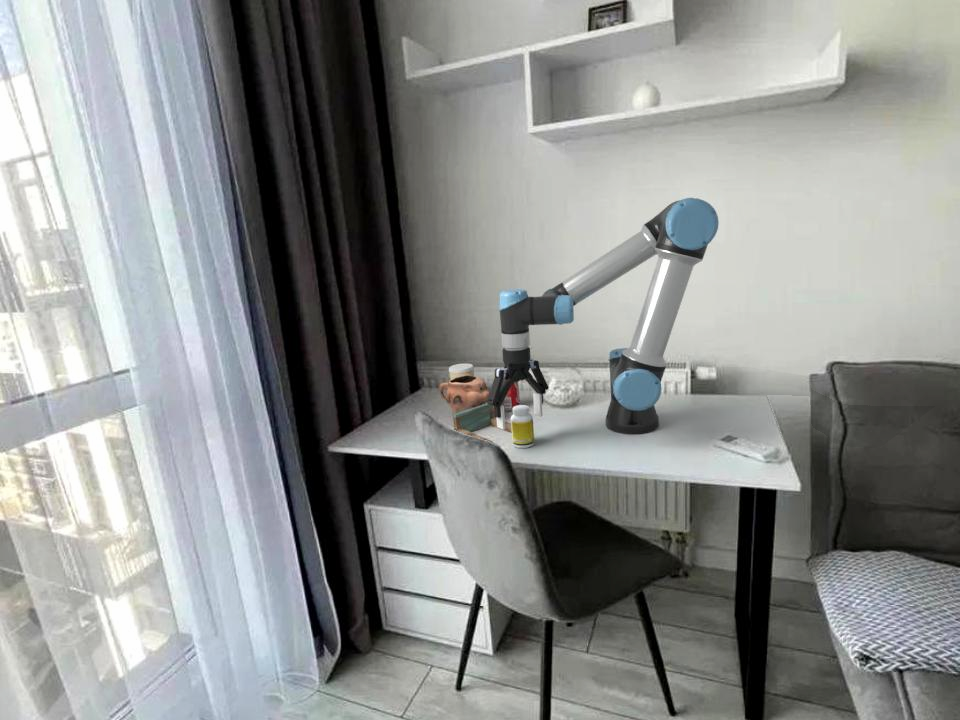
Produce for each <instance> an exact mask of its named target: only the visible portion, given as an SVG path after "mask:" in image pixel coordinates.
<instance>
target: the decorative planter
mask: <svg viewBox="0 0 960 720" xmlns="http://www.w3.org/2000/svg"><path fill="white" fill-rule="evenodd" d="M444 389H447V390H446V393H445V395H444ZM490 391H491V390H490V389H489V388H488V386H487V383H486V382H485V381H484V380H483V379H482V378H481V377H478V376H475V375H474V376H460V377H456V378H454V379H452V380H450V379H449V381H448V382H442V383H441V384H440V385H439V387H438V393H439V395H440V397H441V398H442V399H444V400H445V402H446V404H447V405H448V406H449V408H450V410H451V411H452V415H453V414H455V413H458V412H461V411H464V410H467V409H470V408H474V407H477V406H480V405H483V404H486V403H487V400H488V397H489V394H490Z"/></svg>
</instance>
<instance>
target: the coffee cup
mask: <svg viewBox="0 0 960 720" xmlns="http://www.w3.org/2000/svg"><path fill="white" fill-rule="evenodd" d="M448 372H449V373H448V375H449V381H450V380H452V379H454V378H456V377H460V376H475V367H474V365H473V364H472V363H457V364H453V365H450V366H449V367H448Z"/></svg>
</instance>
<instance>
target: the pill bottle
mask: <svg viewBox="0 0 960 720" xmlns="http://www.w3.org/2000/svg"><path fill="white" fill-rule="evenodd" d="M512 409H513V411H512V414H511V416H510V423H511V430H512V433H511V440H512V441H511V443H512V446H514V447H515V448H516V449H527V448H531V447H533V446H534V445H535V432H534V431H535V430H534V419H533V418H534V417H533V415H532V414H531V413H530V406H529V405H525V404H520V405H518V406H514V407H513V408H512Z"/></svg>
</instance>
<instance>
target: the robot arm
mask: <svg viewBox="0 0 960 720" xmlns="http://www.w3.org/2000/svg"><path fill="white" fill-rule="evenodd" d="M719 225H720V224H719V215H718V213H717V211H716V210H715V208H714V207H713V206H712V205H711V203H709V202H708V201H706V200H703V199H700V198H698V197H697V198H695V197H687V198H683V199H680V200H676V201H674V202H672V203H670V204H668V205H667V206H666V207H664V209H662V210H661V211H660V212H658V214H656V215H655V216H654V217H653V218H651V219H650V220H648V221H647V222H645V223H643V224H642V227H641V230H640V231H639V232H637V233H635V234H634V235H632V236H631V237H629V238H628V239H626V240H625V241H623V242H621V243H620V244H619V245H617V246H615V247H614V248H612V249H611V250H609V251H608V252H606V253H605V254H603V255H602V256H600V257H598V258H597V259H595V260H594V261H592V262H591V263H589V264H588V265H586V266H585V267H583V268H582V269H580V270H578V271H577V272H575V273H574V274H572V275H570V276H569V277H567V278H566V279H565V280H563V281H562V282H560V283H558V284H556V285H555V286H554V287H552V288H549V289H547V290H546V291H544V292H543V294H542V295H541V296H529V295H528V291H527V290H526V289H521V288H520V289H519V288H515V289H506V290H502V291H501V292H500V293H499V317H500V319H499V320H500V332H501V333H500V335H501V347H502V348H503V349H502V352H501V353H502V362H503V364H504V367H503V368H495V369H494V378H493V381H492V385H491V387H490V390H489V391H490V394H489V397H488V400H487V404H489V405H492V406H493V416H494V418H497V427H498V429H499V428H501V429H500V430H502V429H505V421H506V417H505V411H504V406H503V405H502V403H503V401H504V399H505V397H506V395H507V393H508V391H509V389H510V387H511V386H512V385H513V384H514V382H518V383H519V382H520V381H525V382H527V383H528V385H529V386H530V387H531V388H532V389H533V390H534V392H533V393H532V396H533V397H532V398H533V415H534V416H537V417H541V418H542V417H543V404H544V395H545V394H546V393H547V390H549V384H548V383H547V381H546V379H545V377H544V375H543V372H542V370H541V368H540V363H539V362H540V361H538V360H536V359H535V360H534V359H531V348H530V347H529V346H530V345H531V339H530V326H535V325H536V326H540V325H542V326H544V325H545V326H546V325H565V324H571V323H573V322H574V320H575V318H574V316H575V315H574V313H575V312H574V307H575V306H577V304H579V303H581V302H583V301H584V300H586V299H587V298H588V297H590V296H592V295H594V294H595V293H596V292H598V291H600V290H602V289H603V288H605V287H606V286H608V285H609V284H611V283H613V282H615V281H616V280H617V279H620V278H621V277H622V276H624V275H625V274H627V273H629V272H630V271H632V270H633V269H635V268H637V267H638V266H640V265H642V264H643V263H644V262H647V260H649V259H651V258H653V257H655V256H656V255H658V258H657V262H656V264H655V268H654V271H653V274H652V277H651V280H650V284H649V287H648V290H647V293H646V296H645V299H644V302H643V304H642V305H643V306H642V308H641V312H640V314H639V317H638V320H637V325H636V327H635V330H634V333H633V337H632V340H631V342H630V345H629V347H623V348H616V349H612V350H610V352H609V354H608V355H609V357H608V361H609V380H610V402H609V405H608V409H607V412H606V416H605V427H606V428H607V429H609V430H611V431H613V432H616V433H620V434H626V435H628V434H629V435H630V434H631V435H636V434H637V435H639V434H645V433H646V434H647V433H650V432H652V431H655V430H657V429H658V428H659V427H660V418H659V415H658V413H657V410H656V407H655V405H656V403H658V401H659V400H660V398H661V394H662V379H663V377H664V374H665V370H666V368H667V364H668V363H667V362H666V360H665V359H664V355H665V351H666V348H667V346H668V343H669V340H670V337H671V334H672V331H673V328H674V325H675V322H676V319H677V317H678V313H679V310H680V307H681V304H682V302H683V298H684V296H685V292H686V290H687V287H688V283H689V280H690V278H691V275H692V272H693V270H694V267H695V265H697V264H699V263H701V262H702V261H703V259H704V256H705V254H706V251H707V248H708V245H709V244H710V243H711V242H712V241H713V239H714V238H715V237H716V234H717V233H718V229H719ZM530 371H531V372H532V374H533V375H532V374H531V373H530ZM505 374H506V375H505ZM533 376H534V377H533ZM508 379H509V380H508ZM497 427H496V428H497Z"/></svg>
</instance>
